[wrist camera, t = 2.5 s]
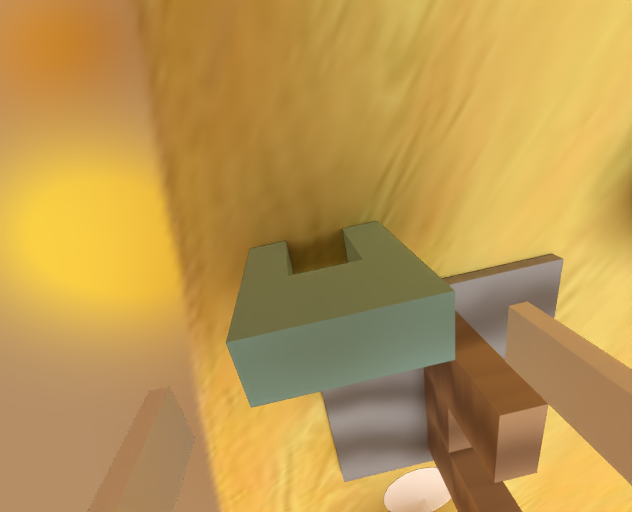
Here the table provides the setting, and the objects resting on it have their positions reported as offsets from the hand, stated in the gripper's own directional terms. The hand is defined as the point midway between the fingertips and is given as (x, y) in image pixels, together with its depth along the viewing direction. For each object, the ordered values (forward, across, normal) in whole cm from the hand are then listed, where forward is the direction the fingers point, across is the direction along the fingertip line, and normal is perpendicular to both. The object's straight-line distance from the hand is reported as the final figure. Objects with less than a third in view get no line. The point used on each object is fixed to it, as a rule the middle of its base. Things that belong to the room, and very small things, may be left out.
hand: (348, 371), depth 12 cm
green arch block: (+11, 0, 0) cm, 11 cm away
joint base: (+11, +8, -14) cm, 19 cm away
